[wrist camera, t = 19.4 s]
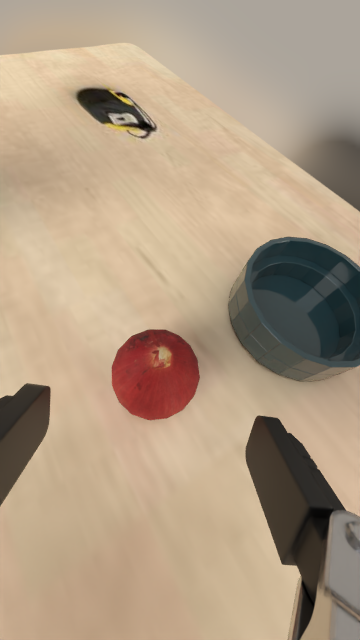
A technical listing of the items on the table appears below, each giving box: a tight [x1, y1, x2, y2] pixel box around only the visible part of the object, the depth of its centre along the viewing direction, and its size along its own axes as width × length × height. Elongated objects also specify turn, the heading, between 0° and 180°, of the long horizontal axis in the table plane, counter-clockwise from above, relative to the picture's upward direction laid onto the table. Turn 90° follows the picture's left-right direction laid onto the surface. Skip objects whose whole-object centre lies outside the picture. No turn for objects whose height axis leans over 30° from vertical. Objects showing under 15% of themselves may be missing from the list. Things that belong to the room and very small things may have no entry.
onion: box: [112, 330, 200, 420], centre depth 17 cm, size 6×6×8 cm
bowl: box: [228, 237, 360, 381], centre depth 23 cm, size 13×13×4 cm
